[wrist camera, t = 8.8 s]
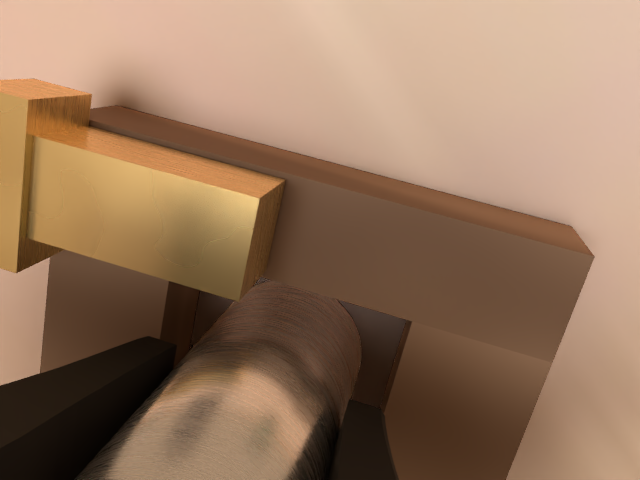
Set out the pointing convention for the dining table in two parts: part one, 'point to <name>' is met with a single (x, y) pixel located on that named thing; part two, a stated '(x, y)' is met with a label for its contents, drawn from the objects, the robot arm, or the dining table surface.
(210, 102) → the dining table surface
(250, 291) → the frosted round dowel plug
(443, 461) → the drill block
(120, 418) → the robot arm
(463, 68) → the dining table surface
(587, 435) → the dining table surface
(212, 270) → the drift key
